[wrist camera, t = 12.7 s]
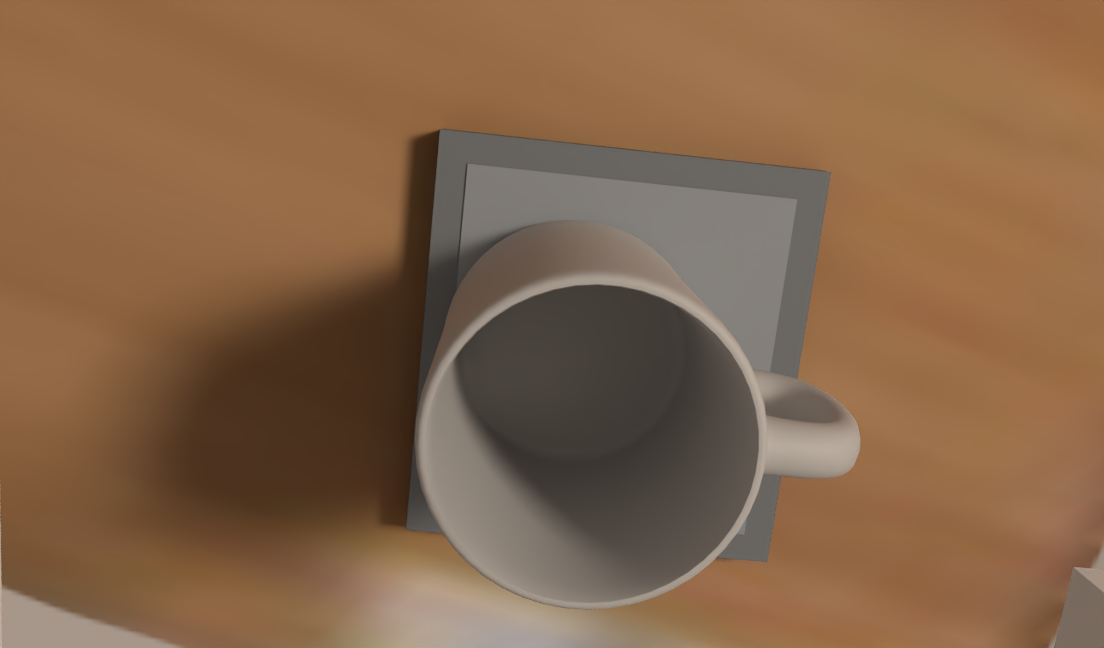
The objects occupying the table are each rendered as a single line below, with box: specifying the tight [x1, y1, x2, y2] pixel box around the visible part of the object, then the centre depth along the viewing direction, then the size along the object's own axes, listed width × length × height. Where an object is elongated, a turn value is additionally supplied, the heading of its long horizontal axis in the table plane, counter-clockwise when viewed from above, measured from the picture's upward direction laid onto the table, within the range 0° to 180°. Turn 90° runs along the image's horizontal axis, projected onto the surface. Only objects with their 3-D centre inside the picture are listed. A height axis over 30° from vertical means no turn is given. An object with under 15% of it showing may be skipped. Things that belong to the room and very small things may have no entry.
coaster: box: [406, 129, 831, 562], centre depth 35 cm, size 13×14×1 cm
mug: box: [415, 220, 861, 610], centre depth 29 cm, size 12×8×11 cm
